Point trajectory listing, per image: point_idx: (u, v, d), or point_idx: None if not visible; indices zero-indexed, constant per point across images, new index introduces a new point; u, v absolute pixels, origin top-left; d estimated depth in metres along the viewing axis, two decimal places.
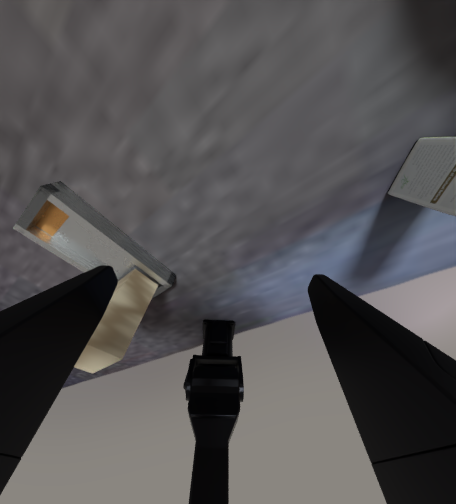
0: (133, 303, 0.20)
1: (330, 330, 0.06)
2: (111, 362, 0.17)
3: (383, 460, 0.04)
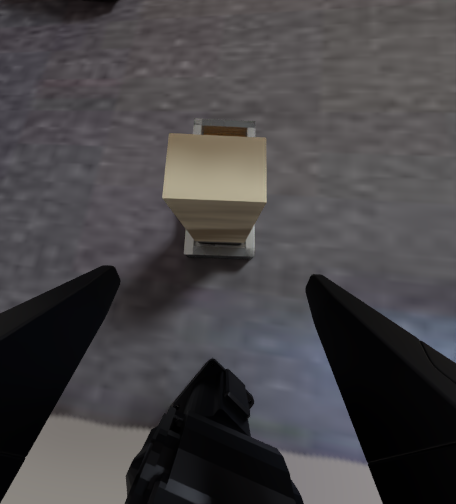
0: None
1: (327, 330, 0.06)
2: (239, 196, 0.09)
3: (379, 460, 0.04)
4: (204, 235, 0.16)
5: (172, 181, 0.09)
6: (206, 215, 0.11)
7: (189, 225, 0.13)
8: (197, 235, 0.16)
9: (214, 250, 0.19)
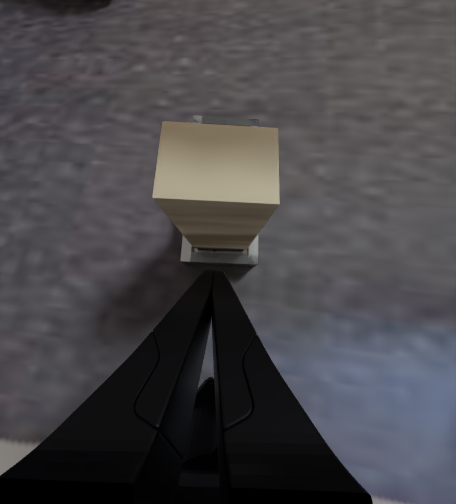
0: None
1: (212, 326, 0.06)
2: (246, 197, 0.07)
3: (218, 456, 0.04)
4: (203, 241, 0.15)
5: (165, 177, 0.07)
6: (206, 219, 0.10)
7: (186, 230, 0.12)
8: (195, 241, 0.15)
9: (214, 257, 0.17)
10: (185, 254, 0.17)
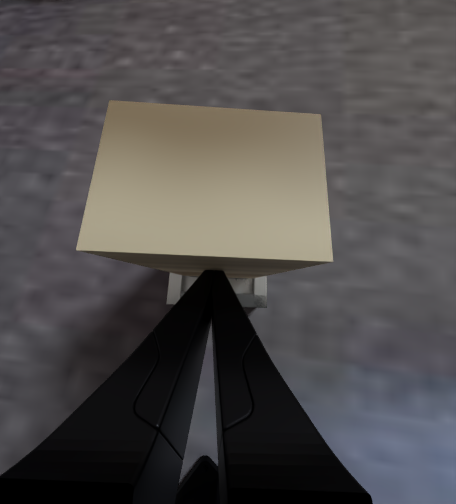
0: None
1: (212, 326, 0.06)
2: (267, 247, 0.04)
3: (218, 457, 0.04)
4: (195, 274, 0.11)
5: (106, 208, 0.04)
6: (193, 266, 0.06)
7: (167, 269, 0.08)
8: None
9: None
10: (173, 294, 0.13)
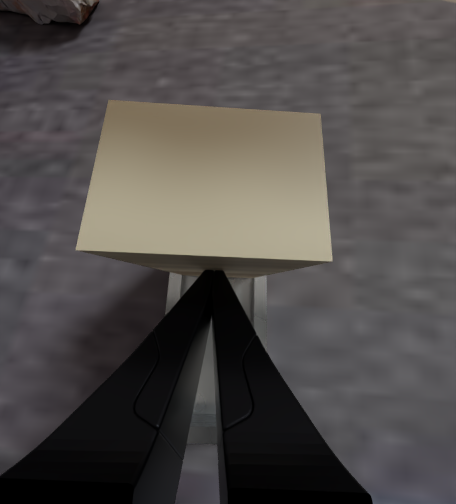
0: None
1: (212, 326, 0.06)
2: (266, 247, 0.04)
3: (218, 457, 0.04)
4: None
5: (105, 208, 0.04)
6: (193, 265, 0.06)
7: (167, 269, 0.08)
8: (185, 273, 0.11)
9: (202, 434, 0.12)
10: None
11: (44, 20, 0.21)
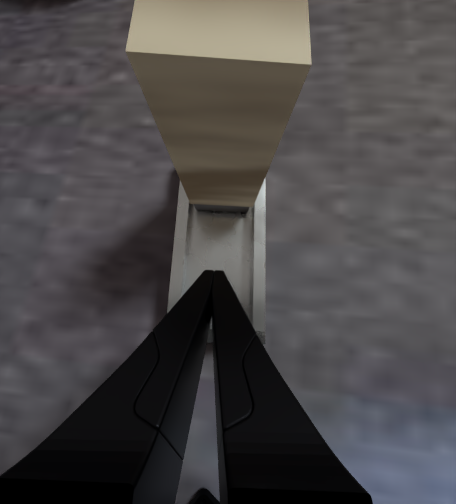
0: None
1: (212, 326, 0.06)
2: (263, 54, 0.05)
3: (218, 457, 0.04)
4: (202, 188, 0.12)
5: (145, 27, 0.05)
6: (205, 125, 0.07)
7: (180, 160, 0.09)
8: (193, 189, 0.12)
9: (208, 335, 0.13)
10: None
11: None
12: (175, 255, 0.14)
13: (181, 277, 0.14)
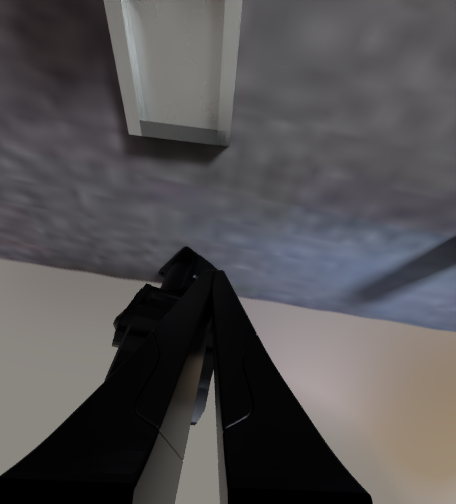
0: None
1: (212, 326, 0.06)
2: None
3: (218, 457, 0.04)
4: None
5: None
6: None
7: None
8: None
9: (172, 131, 0.13)
10: (132, 123, 0.13)
11: None
12: None
13: (125, 39, 0.10)
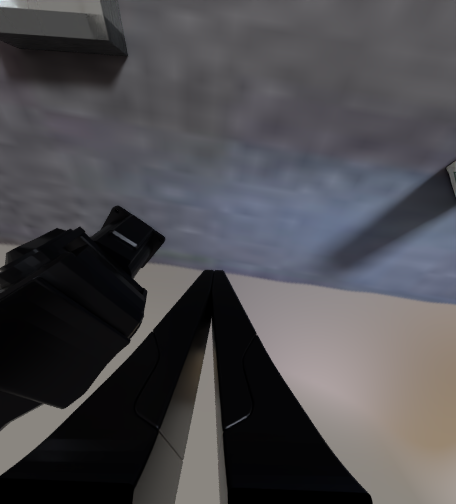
0: None
1: (212, 326, 0.06)
2: None
3: (218, 456, 0.04)
4: None
5: None
6: None
7: None
8: None
9: (29, 20, 0.10)
10: None
11: None
12: None
13: None
